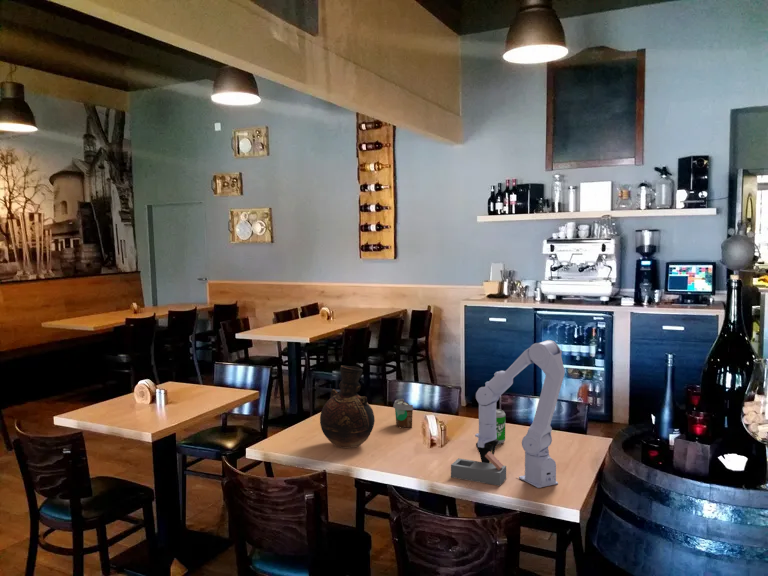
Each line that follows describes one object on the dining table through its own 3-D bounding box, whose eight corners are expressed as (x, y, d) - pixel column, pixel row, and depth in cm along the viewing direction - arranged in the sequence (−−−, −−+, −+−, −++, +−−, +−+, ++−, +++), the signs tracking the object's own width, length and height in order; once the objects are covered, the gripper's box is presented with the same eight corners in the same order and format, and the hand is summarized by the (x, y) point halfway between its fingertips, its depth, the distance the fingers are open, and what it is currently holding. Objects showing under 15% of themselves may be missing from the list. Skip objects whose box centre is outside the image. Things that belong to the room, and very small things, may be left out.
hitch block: (506, 478, 191) (506, 465, 191) (499, 485, 185) (500, 473, 185) (458, 470, 198) (458, 458, 198) (450, 477, 192) (450, 464, 192)
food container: (389, 422, 255) (389, 399, 255) (403, 421, 257) (403, 398, 257) (398, 430, 244) (398, 406, 243) (413, 429, 245) (413, 405, 245)
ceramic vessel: (310, 447, 222) (309, 367, 220) (335, 435, 237) (335, 360, 236) (359, 456, 212) (359, 372, 210) (383, 443, 227) (382, 364, 226)
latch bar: (501, 467, 189) (503, 465, 189) (498, 470, 187) (500, 468, 186) (487, 453, 191) (489, 451, 191) (484, 455, 189) (486, 453, 188)
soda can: (481, 440, 231) (481, 409, 230) (498, 438, 233) (498, 407, 233) (491, 446, 224) (491, 414, 223) (509, 443, 226) (509, 412, 226)
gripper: (482, 415, 207) (482, 454, 208) (468, 426, 194) (468, 467, 195) (502, 418, 204) (502, 457, 204) (489, 429, 191) (489, 471, 192)
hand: (487, 462), depth 199 cm, fingers open, 3 cm apart
